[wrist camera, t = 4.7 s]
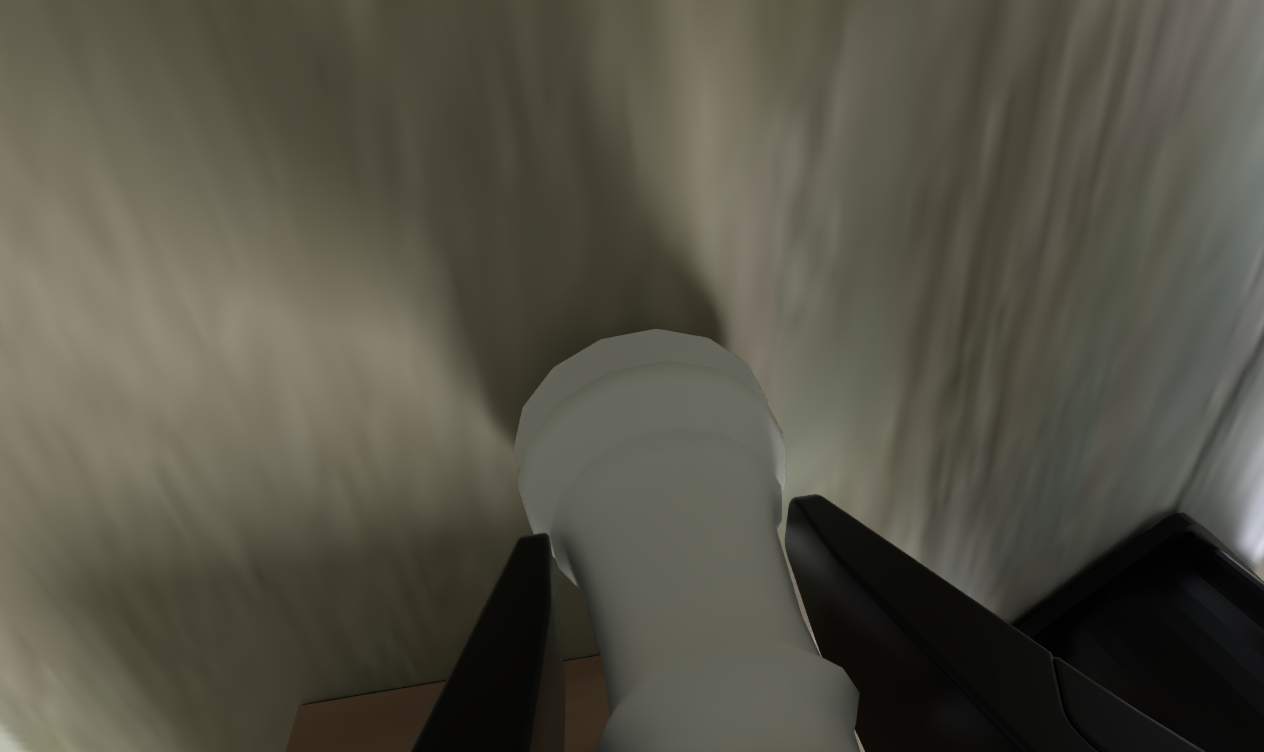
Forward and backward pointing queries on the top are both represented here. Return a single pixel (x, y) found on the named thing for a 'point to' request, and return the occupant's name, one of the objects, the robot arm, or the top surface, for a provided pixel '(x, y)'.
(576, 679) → the box
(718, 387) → the rook chess piece
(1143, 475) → the top surface
